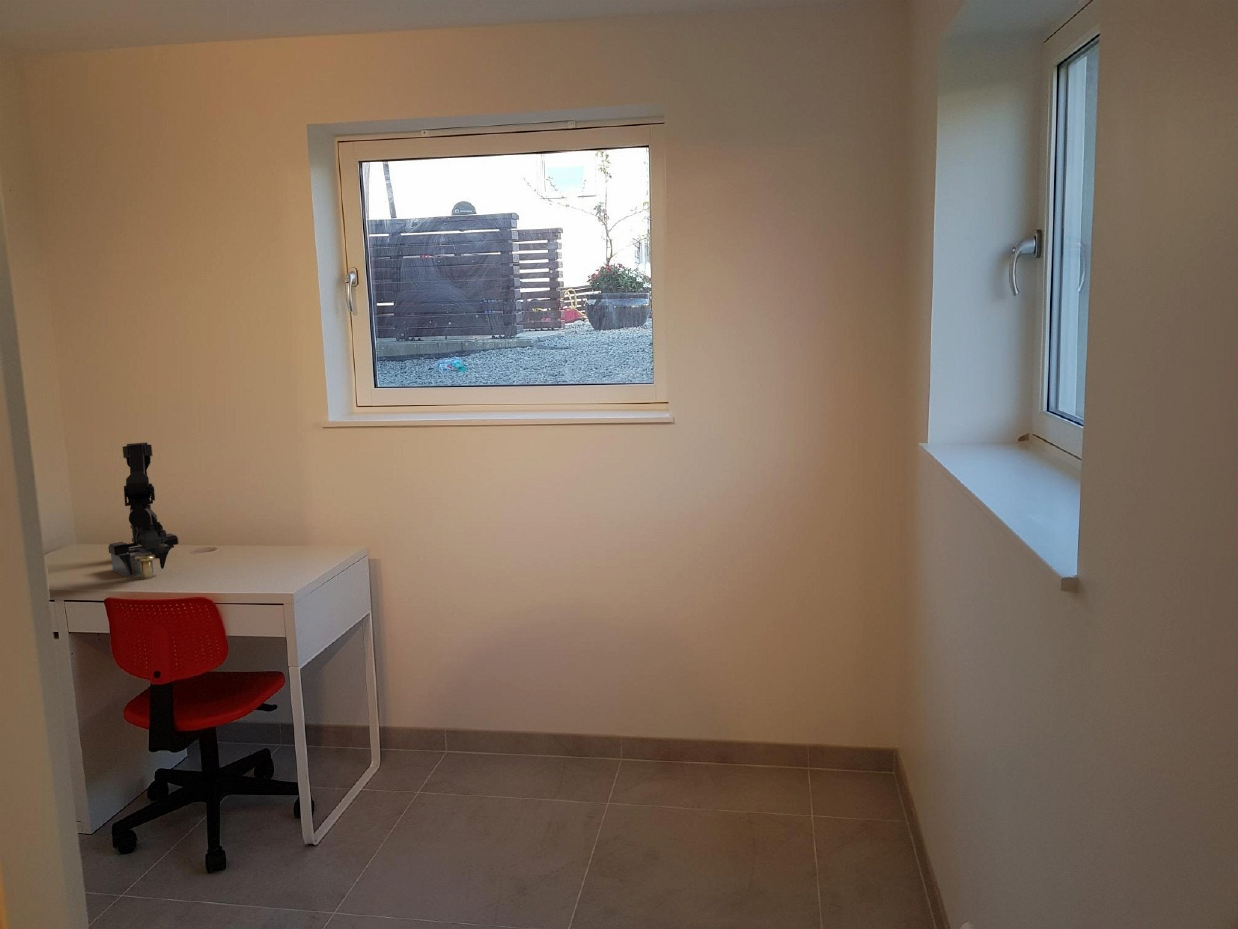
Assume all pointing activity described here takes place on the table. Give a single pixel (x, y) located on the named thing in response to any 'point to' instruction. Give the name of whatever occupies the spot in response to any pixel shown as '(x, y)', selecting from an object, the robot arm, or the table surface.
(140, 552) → the jig
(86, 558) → the table surface
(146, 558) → the bushing
